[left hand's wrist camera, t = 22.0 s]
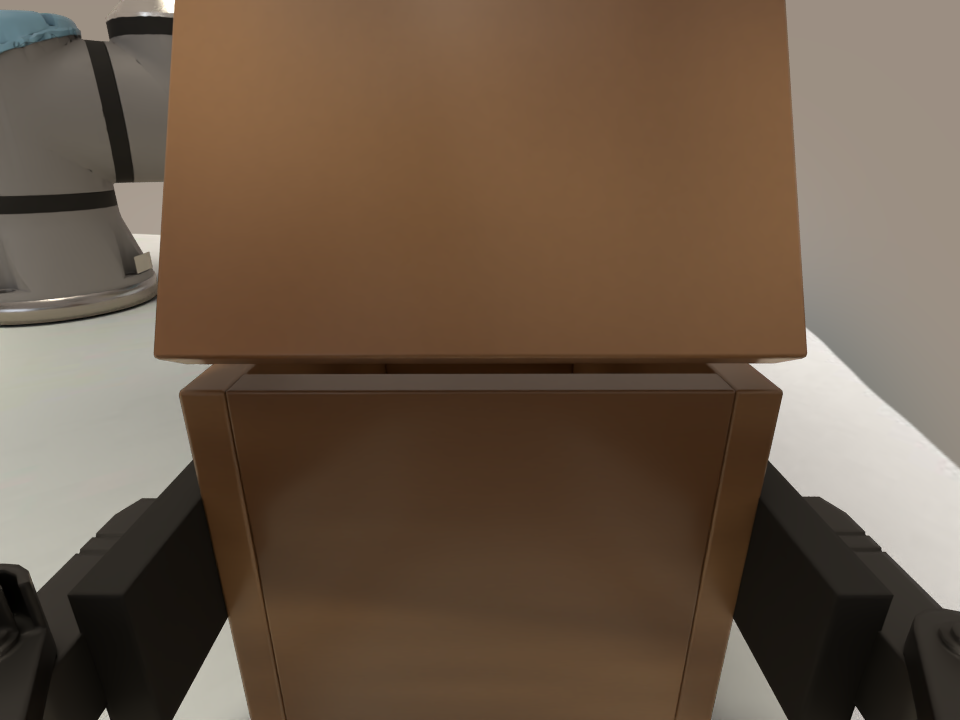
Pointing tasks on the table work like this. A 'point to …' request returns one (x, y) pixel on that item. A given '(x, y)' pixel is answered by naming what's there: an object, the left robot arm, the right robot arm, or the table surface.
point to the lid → (480, 183)
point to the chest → (480, 534)
